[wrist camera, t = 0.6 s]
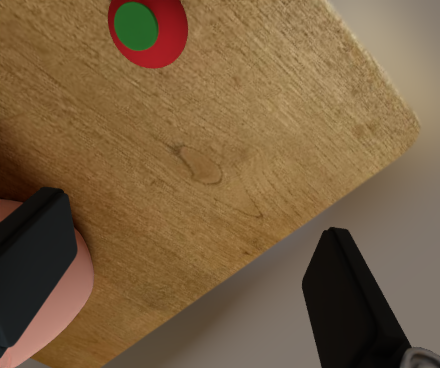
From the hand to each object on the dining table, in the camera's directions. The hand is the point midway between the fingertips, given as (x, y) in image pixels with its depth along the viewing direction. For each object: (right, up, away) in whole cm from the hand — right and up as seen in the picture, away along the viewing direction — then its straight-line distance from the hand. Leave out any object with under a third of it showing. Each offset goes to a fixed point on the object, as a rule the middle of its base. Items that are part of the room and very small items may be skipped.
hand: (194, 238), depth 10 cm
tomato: (-3, +14, +10) cm, 17 cm away
